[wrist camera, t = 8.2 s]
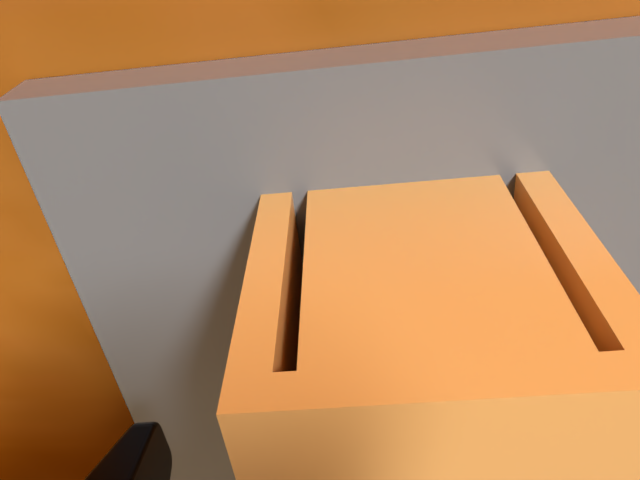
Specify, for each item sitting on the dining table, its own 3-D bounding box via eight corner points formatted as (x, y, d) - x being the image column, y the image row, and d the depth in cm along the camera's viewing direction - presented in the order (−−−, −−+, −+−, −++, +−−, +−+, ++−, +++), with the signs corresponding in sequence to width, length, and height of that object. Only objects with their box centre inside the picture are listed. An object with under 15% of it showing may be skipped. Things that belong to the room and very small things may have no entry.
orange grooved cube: (521, 374, 13) (613, 617, 9) (295, 388, 14) (281, 628, 9) (549, 170, 10) (707, 387, 6) (260, 194, 11) (215, 414, 6)
